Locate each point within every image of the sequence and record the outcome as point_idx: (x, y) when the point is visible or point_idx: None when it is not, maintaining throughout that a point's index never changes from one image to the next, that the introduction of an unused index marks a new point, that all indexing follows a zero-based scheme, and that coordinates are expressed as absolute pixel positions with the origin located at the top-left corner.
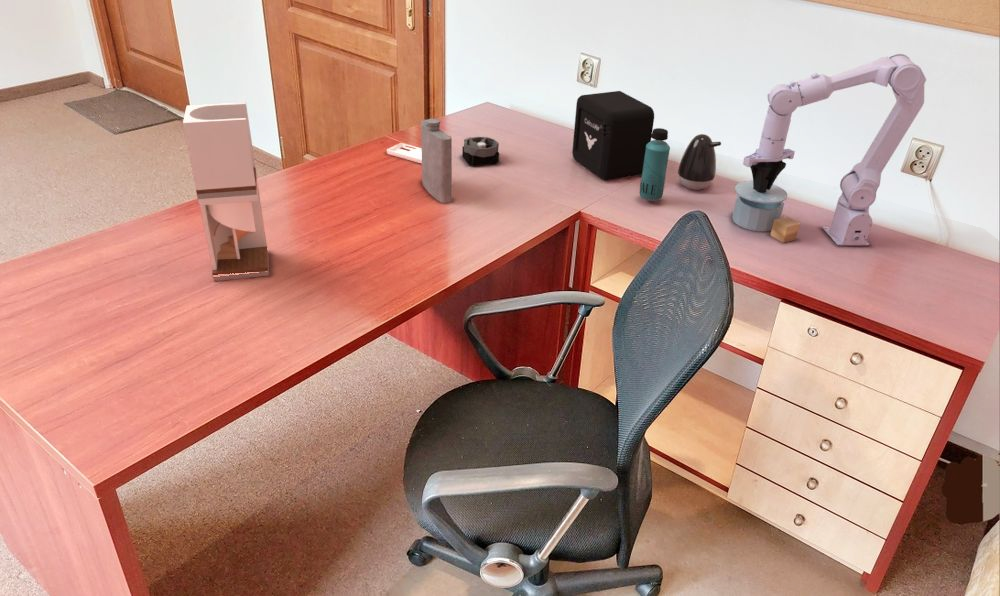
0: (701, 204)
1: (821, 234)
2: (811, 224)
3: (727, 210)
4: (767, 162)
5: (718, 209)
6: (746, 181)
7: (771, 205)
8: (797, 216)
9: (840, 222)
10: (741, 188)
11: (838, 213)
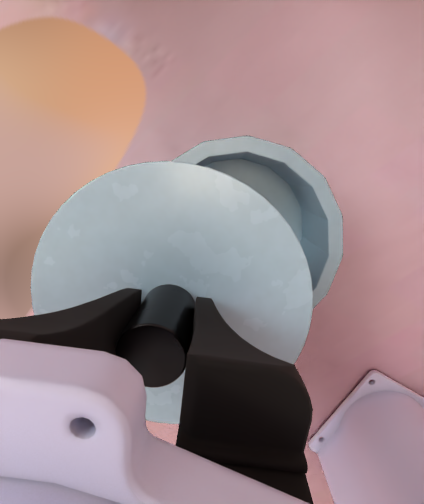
0: (165, 4)
1: (334, 385)
2: (373, 334)
3: (217, 109)
4: (181, 405)
5: (192, 83)
6: (202, 169)
7: (314, 241)
8: (392, 276)
9: (359, 474)
10: (93, 229)
11: (380, 485)
